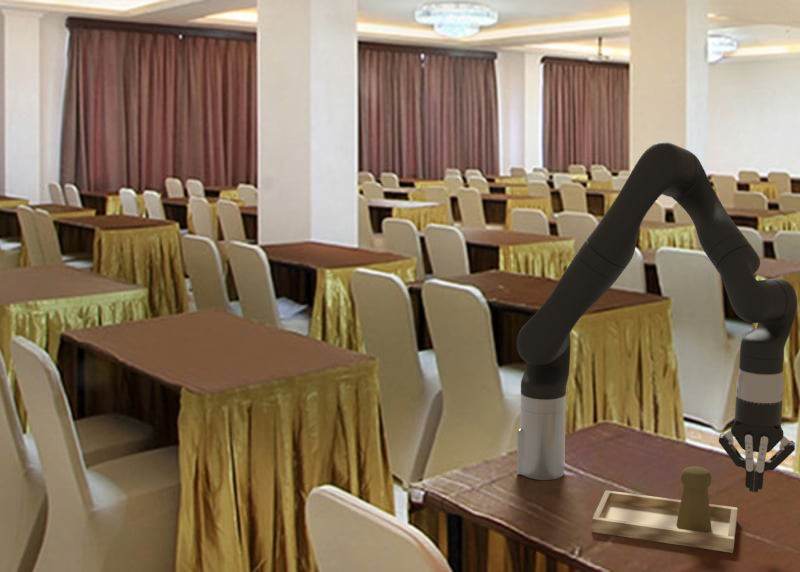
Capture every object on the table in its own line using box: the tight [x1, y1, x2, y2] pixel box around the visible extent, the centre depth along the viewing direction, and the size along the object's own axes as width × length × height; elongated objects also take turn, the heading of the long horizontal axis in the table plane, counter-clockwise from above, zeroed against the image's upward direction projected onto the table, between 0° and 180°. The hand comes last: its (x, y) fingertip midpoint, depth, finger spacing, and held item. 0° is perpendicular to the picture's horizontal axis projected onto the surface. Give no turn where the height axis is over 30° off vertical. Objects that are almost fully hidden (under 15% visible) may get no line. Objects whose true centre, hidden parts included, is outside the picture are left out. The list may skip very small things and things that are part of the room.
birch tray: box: [591, 489, 738, 554], centre depth 173 cm, size 24×14×2 cm, turn 69°
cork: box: [676, 465, 712, 533], centre depth 171 cm, size 6×6×11 cm
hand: (753, 490), depth 167 cm, fingers closed
